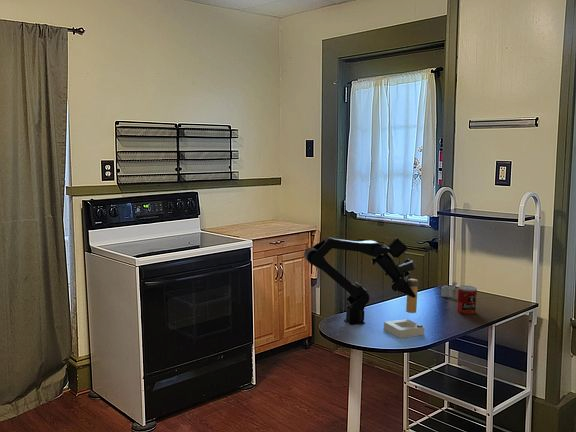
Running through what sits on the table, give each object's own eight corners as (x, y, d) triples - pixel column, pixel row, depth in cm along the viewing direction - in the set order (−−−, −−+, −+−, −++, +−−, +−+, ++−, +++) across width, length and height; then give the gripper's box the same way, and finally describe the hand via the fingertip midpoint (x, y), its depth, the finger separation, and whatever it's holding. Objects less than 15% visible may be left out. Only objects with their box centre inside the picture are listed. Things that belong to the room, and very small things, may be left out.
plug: (409, 313, 227) (411, 281, 226) (403, 310, 231) (405, 279, 230) (418, 312, 229) (420, 280, 227) (412, 309, 233) (414, 278, 231)
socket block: (399, 338, 214) (400, 328, 214) (383, 329, 224) (384, 320, 224) (424, 335, 218) (424, 325, 218) (407, 326, 228) (407, 317, 228)
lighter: (440, 296, 276) (441, 279, 276) (442, 295, 278) (443, 279, 277) (454, 298, 272) (456, 282, 271) (456, 298, 273) (457, 281, 272)
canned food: (462, 315, 246) (464, 290, 244) (453, 309, 254) (455, 285, 252) (478, 314, 247) (480, 289, 246) (469, 309, 255) (471, 285, 254)
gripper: (401, 257, 219) (429, 288, 218) (406, 249, 237) (432, 278, 235) (380, 276, 223) (407, 306, 221) (386, 266, 240) (411, 294, 239)
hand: (415, 295), depth 229 cm, fingers closed on plug, 4 cm apart
